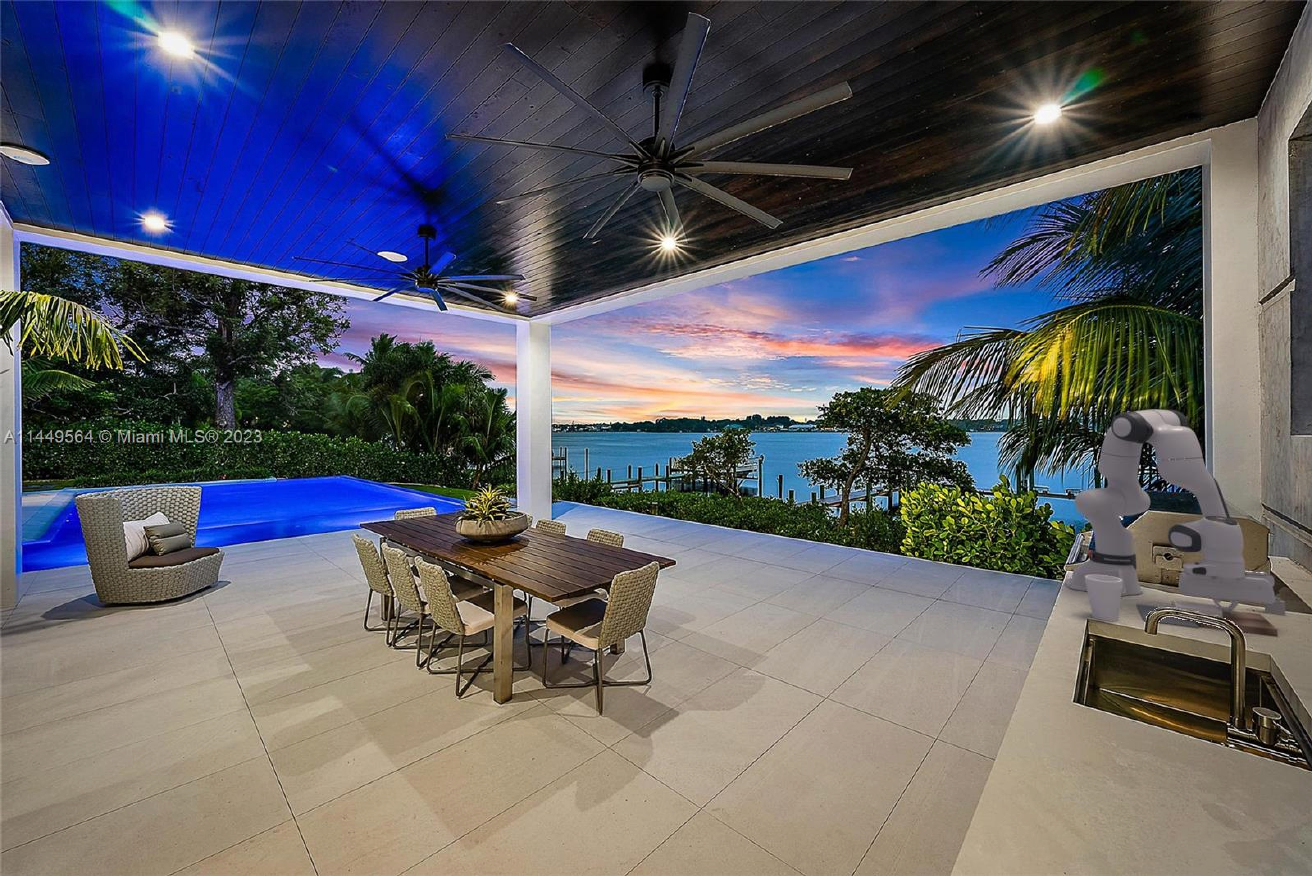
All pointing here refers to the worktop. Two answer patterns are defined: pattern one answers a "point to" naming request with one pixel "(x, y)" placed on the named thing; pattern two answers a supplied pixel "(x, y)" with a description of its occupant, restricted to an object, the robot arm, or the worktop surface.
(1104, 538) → the robot arm
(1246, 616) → the plate
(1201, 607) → the tile
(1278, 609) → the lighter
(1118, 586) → the foam cup
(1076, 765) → the worktop surface
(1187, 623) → the mat
